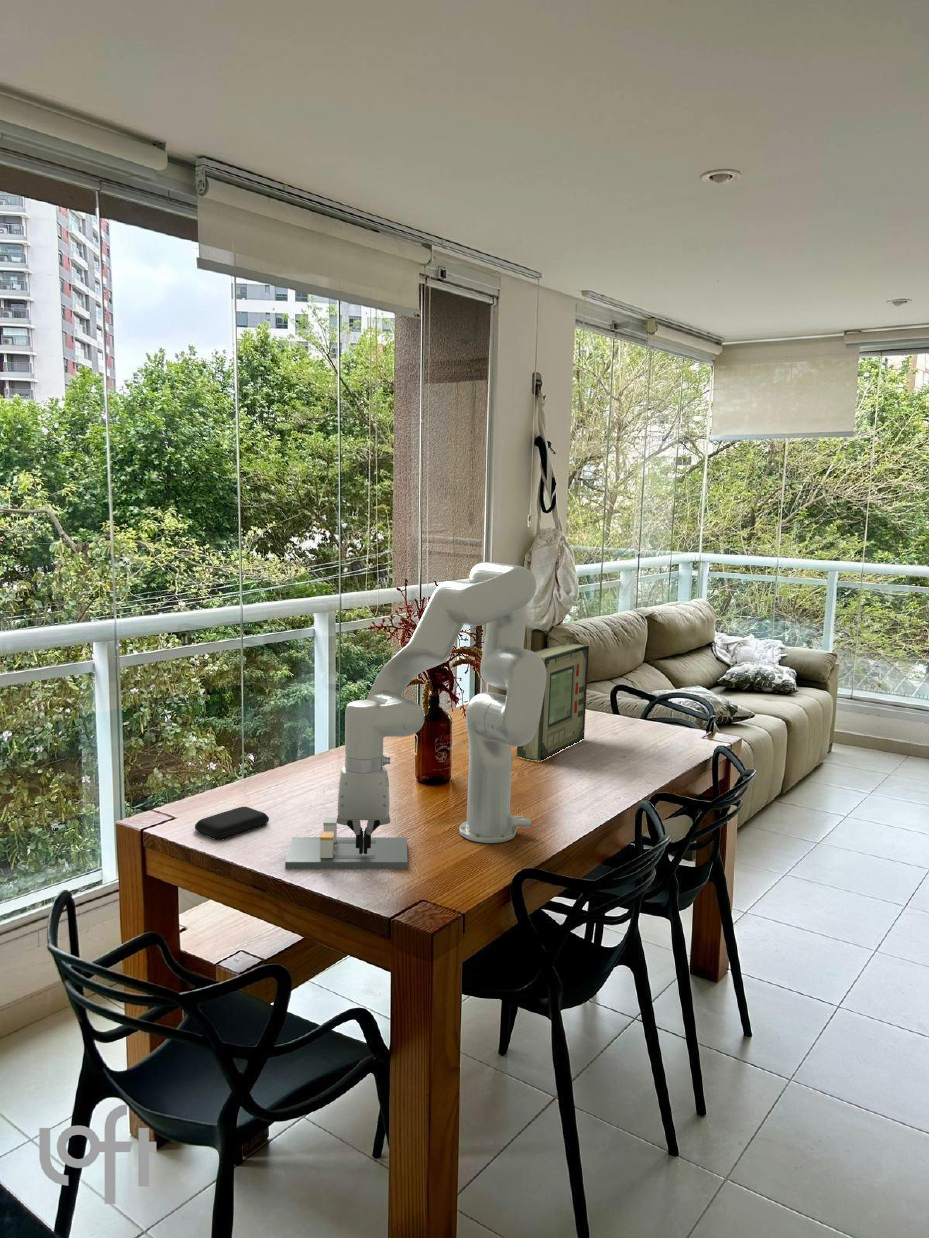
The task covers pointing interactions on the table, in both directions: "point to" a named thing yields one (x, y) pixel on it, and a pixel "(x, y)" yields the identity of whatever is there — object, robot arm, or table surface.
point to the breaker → (330, 826)
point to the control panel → (560, 701)
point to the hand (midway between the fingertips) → (363, 851)
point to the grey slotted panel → (348, 854)
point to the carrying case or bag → (231, 823)
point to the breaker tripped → (326, 844)
